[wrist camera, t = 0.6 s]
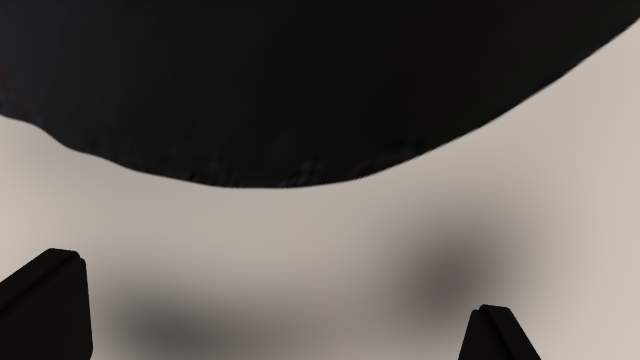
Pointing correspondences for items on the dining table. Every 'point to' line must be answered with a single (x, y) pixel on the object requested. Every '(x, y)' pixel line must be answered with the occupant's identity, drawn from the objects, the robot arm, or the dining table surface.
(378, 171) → the dining table surface
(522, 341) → the robot arm
